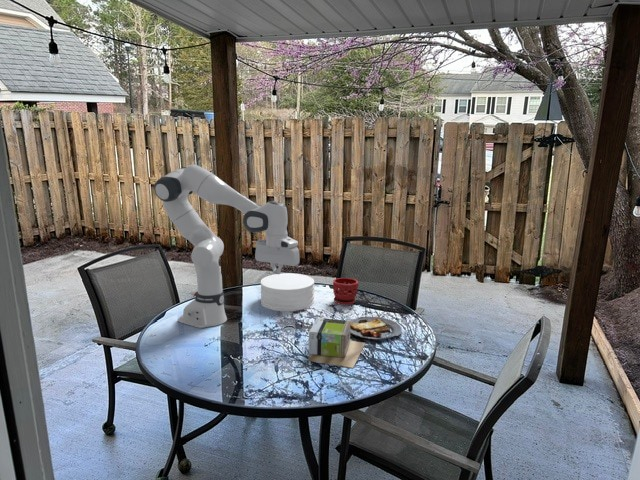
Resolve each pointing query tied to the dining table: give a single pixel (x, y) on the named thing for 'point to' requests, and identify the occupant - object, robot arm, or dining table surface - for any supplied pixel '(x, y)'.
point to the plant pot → (345, 290)
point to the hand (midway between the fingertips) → (276, 273)
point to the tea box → (329, 337)
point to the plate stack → (287, 292)
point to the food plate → (374, 327)
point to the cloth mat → (348, 361)
